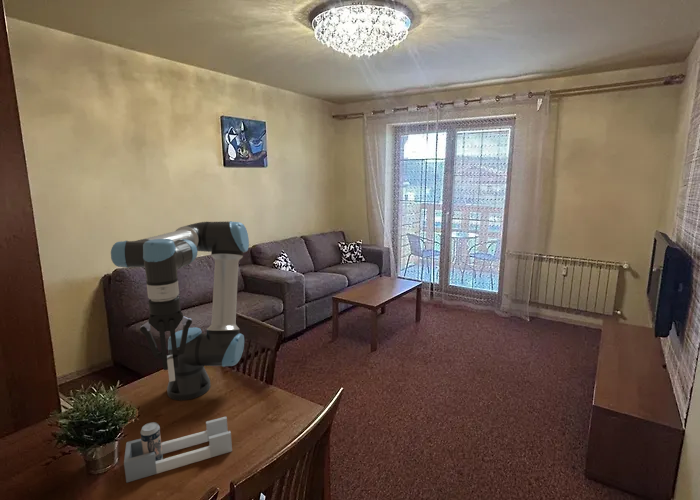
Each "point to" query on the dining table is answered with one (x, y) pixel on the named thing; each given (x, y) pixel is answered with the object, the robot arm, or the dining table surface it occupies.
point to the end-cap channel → (148, 466)
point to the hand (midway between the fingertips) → (172, 378)
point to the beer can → (151, 440)
